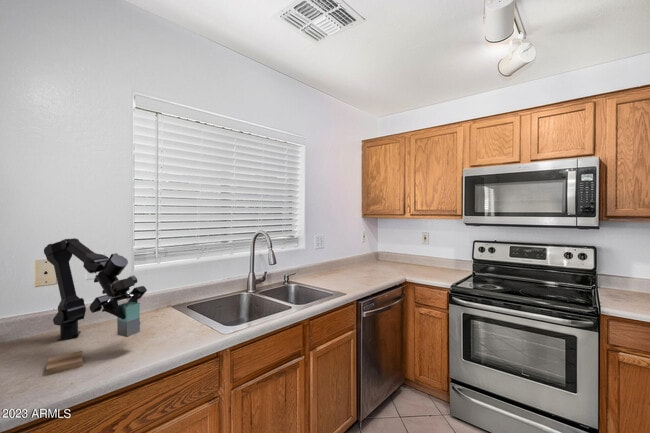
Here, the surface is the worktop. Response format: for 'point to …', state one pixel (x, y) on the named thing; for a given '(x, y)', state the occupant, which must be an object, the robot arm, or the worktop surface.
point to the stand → (64, 362)
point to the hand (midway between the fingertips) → (131, 316)
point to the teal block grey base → (129, 319)
